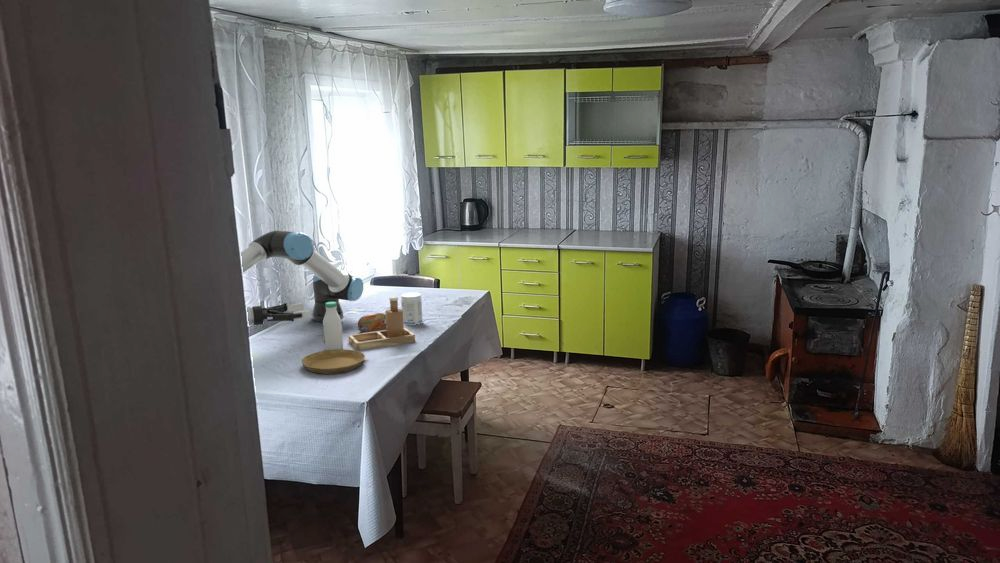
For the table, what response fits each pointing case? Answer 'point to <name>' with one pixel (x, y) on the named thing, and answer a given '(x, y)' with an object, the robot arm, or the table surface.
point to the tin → (372, 322)
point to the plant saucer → (333, 361)
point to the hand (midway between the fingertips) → (306, 310)
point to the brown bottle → (394, 319)
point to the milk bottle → (332, 328)
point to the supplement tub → (411, 308)
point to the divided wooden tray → (379, 339)
